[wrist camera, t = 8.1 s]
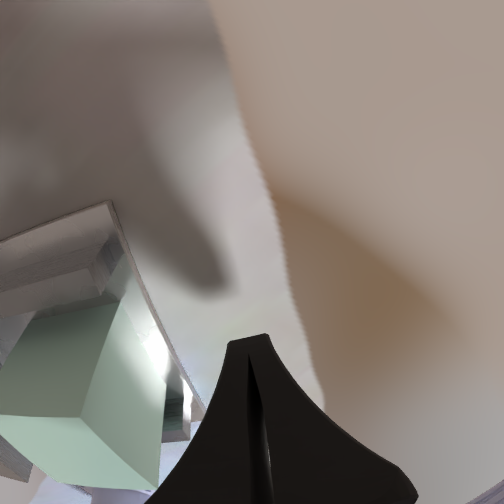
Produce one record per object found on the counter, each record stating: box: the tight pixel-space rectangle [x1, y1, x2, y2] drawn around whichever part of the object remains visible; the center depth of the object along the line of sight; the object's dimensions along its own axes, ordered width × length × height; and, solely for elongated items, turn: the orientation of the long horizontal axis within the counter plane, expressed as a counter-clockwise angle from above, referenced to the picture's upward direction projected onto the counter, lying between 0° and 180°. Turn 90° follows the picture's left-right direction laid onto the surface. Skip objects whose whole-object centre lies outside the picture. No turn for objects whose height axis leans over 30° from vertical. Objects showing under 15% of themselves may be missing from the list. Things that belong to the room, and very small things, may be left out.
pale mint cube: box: [0, 302, 167, 490], centre depth 10 cm, size 5×5×6 cm
